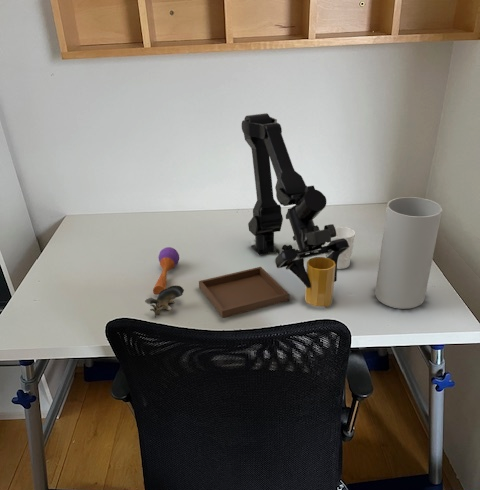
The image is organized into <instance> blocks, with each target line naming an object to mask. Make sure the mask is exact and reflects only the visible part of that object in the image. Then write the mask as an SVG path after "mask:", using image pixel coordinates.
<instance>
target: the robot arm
mask: <svg viewBox="0 0 480 490" xmlns="http://www.w3.org/2000/svg"><path fill="white" fill-rule="evenodd" d="M241 132H242V133H243V136H244V141H245V142H246V143H247V145H248V146H249V147H250V150H251V155H252V164H253V174H254V184H255V191H256V192H255V193H256V202H255V204H254V206H253V208H252V218H251V219H250V220H249V222H248V224H247V226H248V231H249V232H250V233H251V234H252V235H253V236H254V244H252V245H250V248H251V249H252V250H253V251H254V252H255V253H256V254H257V255H258V256H263V255H268V254H273V253H276V252H275V250H277V249H278V248H277V247H276V246H275V233H277V232H281V229H282V225H283V221H284V216H283V214H282V206H283V207H287V206H292V207H290V208H287V212H286V214H285V219H286V220H289V224H290V226H291V230H292V233H293V236H292V240H293V241H295V242H296V245H297V248H298V250H299V251H298V252H297V251H296V250H297V249H296V248H293V249H290V250H285V251H284V250H281V252H280V254H279V255H278V254H277V256H276V257H275V259H274V263H275V266H276V269H282V268H285V270H286V271H288V270H289V271H291V272H292V274H294V275H295V276H296V277H297V278H298V279H299V280H300V282H302V284H304V286H307V288H310V287H311V285H310V281H309V278H308V276H307V273H306V267H305V260H304V259H306V258H307V259H308V258H313V257H318V256H322V255H325V258H329V259H331V260H333V261H334V262H335V264H336V266H335V277H334V283H336V282H337V281H338V269H337V261H338V257H339V255H340V254H342V253H343V252H344V251H345V250H347V249H348V248H349V244H348V241H347V240H345V239H344V238H342V239H337V240H333V241H331V238H332V237H336V229H335V227H336V226H335V224H333V223H331V224H327V225H324V226H323V229H320V227H319V226H318V225H315V222H314V219H315V218H317V216H319V214H320V213H321V212H322V211H323V210H324V209H325V208H326V206H327V197H326V196H325V194H324V193H322V192H321V191H320V190H318V189H316V188H315V185H306V182H305V180H304V178H303V177H302V175H301V174H300V173H298V172H297V171H296V170H295V168H294V165H293V163H292V160H291V158H290V153H289V151H288V148H287V146H286V142H285V140H284V137H283V134H282V132H283V129H282V125H281V123H279V122H278V119H277V118H275V117H272V116H270V114H268V112H267V113H265V112H264V113H256V114H249V115H245V117H244V119H243V120H242V121H241ZM271 165H272V168H273V171H274V173H275V177H276V183H275V186H274V189H275V195H276V200H277V201H276V200H275V199H274V189H273V180H272V179H273V178H272V168H271ZM278 203H279V204H278ZM326 242H327V243H329V242H330V243H329V244H328V245H327V246H326Z"/></svg>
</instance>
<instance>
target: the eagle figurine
mask: <svg viewBox="0 0 480 490" xmlns="http://www.w3.org/2000/svg"><path fill="white" fill-rule="evenodd" d="M184 291H185V289H184V288H183V287H182V286H181V285H170V286H169V287H166V289H164V290H163V291H161V292H160V293H159V294H157V295H158V296H157V298H154V297H148V298H145V299H144V302H145V304H147V305H150V307H153V308H150V309H149V310H150V311H152V312H154V318H157V316H159V314H160V311H162V310H167V311H173V309H172V307H171V306H170V305H169V304H176V302H175V301H174V300H175V299H176V298H180V297H182V296H183V295H184Z"/></svg>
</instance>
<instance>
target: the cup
mask: <svg viewBox="0 0 480 490" xmlns="http://www.w3.org/2000/svg"><path fill="white" fill-rule="evenodd" d="M335 266H336V264H335V262H334V261H333V260H331V259H329V258H327V257H326V256H313V257H310V258H309V259H308V260H307V261H306V268H305V270H306V273H307V276H308V278H309V281H310V285H311V287H310V288H307V286H306V285H304V286H305V288H304V301H305V302H306V303H307V304H309V305H310V306H314V307H324V308H326V309H327V308H329V307H330V306H331V305H332V303H333V296H334V286H335V282H334V277H335Z"/></svg>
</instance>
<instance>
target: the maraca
mask: <svg viewBox="0 0 480 490" xmlns="http://www.w3.org/2000/svg"><path fill="white" fill-rule="evenodd" d="M157 258H158V262H159V265H160V267H161V269H162V272H161V273H160V275H159V277H158V279H157V281H156V283H155V285H154V287H153V289H152V293H153V294H154V295H159V293H160V292H161V291H163V290H164V289H166V288H167V280H168V279H167V278H168V272H169V271H170V270H172V269H174V268H175V267H176V266H177V265H178V264H179V261H180V254H179V252H178V250H177V249H176V248H174V247H171V246H167V247H163V248H162V249H161V250H160V251H159V254H158V257H157Z"/></svg>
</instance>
